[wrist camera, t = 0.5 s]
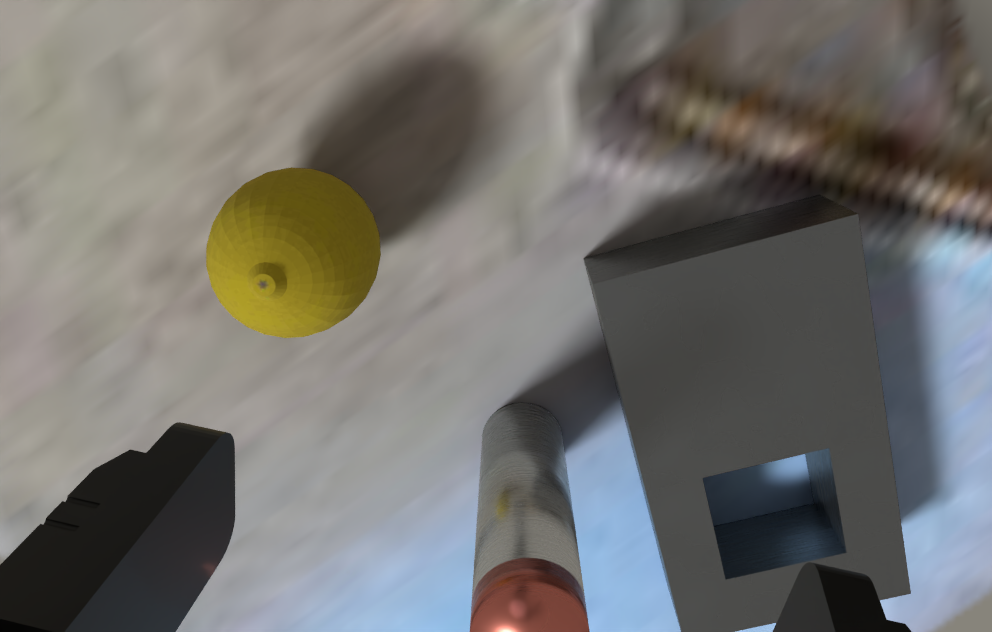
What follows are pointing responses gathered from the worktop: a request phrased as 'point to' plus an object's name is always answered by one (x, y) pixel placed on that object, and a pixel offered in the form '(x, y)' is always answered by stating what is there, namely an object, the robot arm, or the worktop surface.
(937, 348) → the worktop surface
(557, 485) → the pin
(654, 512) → the grey block with hole
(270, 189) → the lemon
